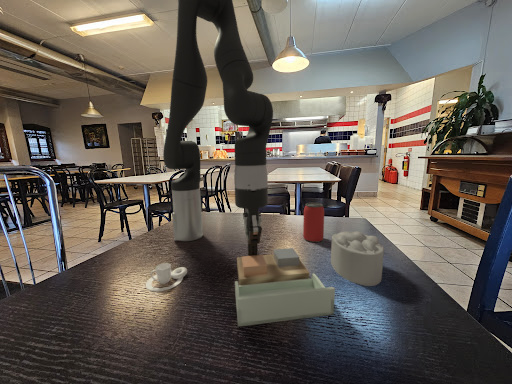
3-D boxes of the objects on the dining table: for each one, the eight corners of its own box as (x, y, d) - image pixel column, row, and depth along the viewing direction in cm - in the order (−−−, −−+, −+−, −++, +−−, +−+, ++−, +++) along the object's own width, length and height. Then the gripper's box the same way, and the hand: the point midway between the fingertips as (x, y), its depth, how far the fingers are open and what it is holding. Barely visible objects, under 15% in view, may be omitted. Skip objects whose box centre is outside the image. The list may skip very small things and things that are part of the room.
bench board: (240, 292, 45) (239, 279, 44) (237, 268, 55) (236, 257, 54) (308, 285, 47) (309, 272, 47) (294, 263, 57) (294, 252, 56)
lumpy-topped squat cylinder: (364, 257, 59) (367, 227, 58) (394, 286, 46) (398, 248, 45) (326, 258, 59) (328, 228, 58) (345, 286, 47) (347, 248, 45)
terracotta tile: (243, 276, 46) (243, 267, 45) (241, 264, 51) (241, 256, 50) (267, 273, 46) (266, 265, 46) (262, 262, 51) (262, 254, 51)
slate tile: (278, 267, 49) (278, 258, 49) (273, 257, 54) (273, 249, 54) (299, 265, 50) (299, 257, 50) (292, 255, 55) (292, 247, 54)
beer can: (324, 243, 69) (325, 206, 67) (303, 242, 71) (304, 206, 69) (322, 235, 76) (323, 202, 74) (303, 234, 77) (303, 201, 75)
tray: (237, 326, 36) (236, 299, 35) (235, 294, 44) (234, 272, 44) (333, 314, 38) (335, 288, 38) (314, 286, 47) (314, 264, 46)
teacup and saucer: (188, 271, 55) (187, 256, 54) (183, 290, 47) (182, 273, 46) (151, 275, 53) (150, 259, 52) (140, 295, 45) (138, 277, 45)
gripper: (233, 182, 55) (235, 246, 58) (236, 190, 42) (239, 272, 45) (262, 181, 56) (263, 244, 59) (273, 188, 43) (274, 269, 46)
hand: (252, 256), depth 52 cm, fingers closed
